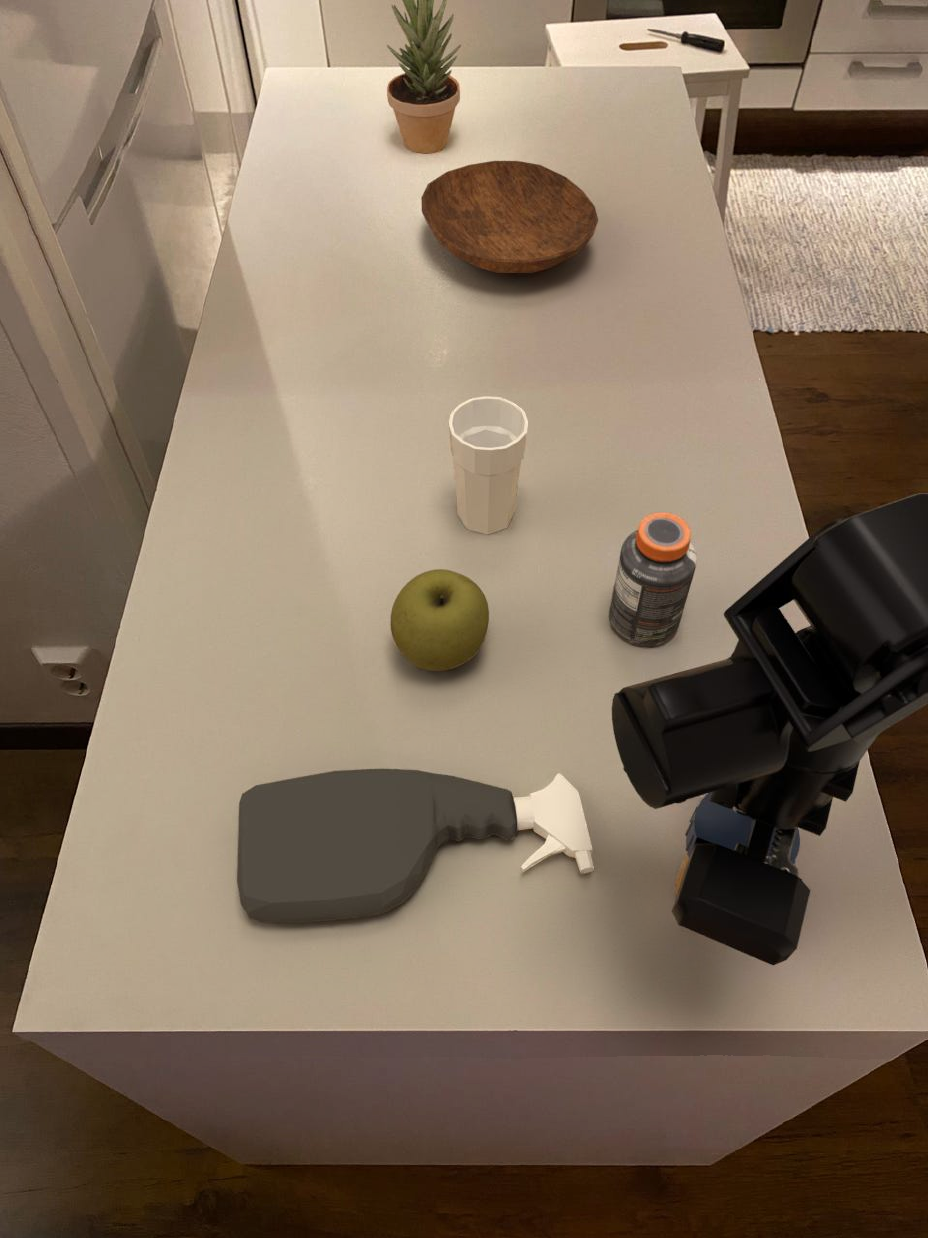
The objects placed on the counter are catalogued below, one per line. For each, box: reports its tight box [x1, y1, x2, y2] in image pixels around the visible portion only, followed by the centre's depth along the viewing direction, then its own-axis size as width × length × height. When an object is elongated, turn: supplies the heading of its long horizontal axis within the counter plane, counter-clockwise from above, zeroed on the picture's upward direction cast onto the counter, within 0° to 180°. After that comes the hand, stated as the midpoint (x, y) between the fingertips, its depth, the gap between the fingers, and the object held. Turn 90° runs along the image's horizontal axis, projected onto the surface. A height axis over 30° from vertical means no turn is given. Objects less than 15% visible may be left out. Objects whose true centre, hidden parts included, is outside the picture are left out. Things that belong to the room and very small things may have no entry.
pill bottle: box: [608, 511, 698, 647], centre depth 76 cm, size 6×6×11 cm
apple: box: [389, 568, 490, 672], centre depth 76 cm, size 8×8×7 cm
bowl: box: [420, 160, 599, 274], centre depth 112 cm, size 20×22×5 cm
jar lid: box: [685, 792, 801, 865], centre depth 59 cm, size 6×6×3 cm
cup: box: [448, 395, 529, 536], centre depth 83 cm, size 7×7×11 cm
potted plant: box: [386, 0, 462, 154], centre depth 119 cm, size 10×10×25 cm
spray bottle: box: [236, 768, 595, 923], centre depth 67 cm, size 3×11×24 cm
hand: (735, 849), depth 60 cm, fingers closed on jar lid, 6 cm apart
